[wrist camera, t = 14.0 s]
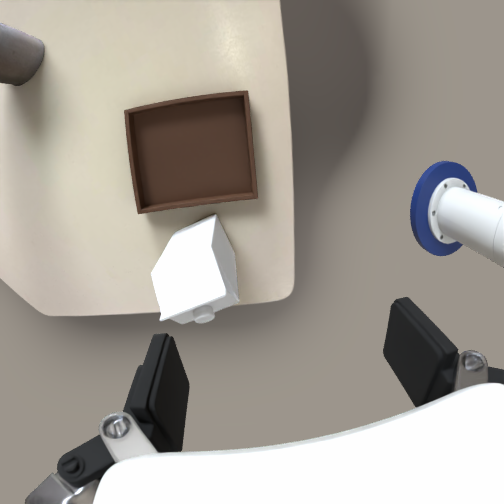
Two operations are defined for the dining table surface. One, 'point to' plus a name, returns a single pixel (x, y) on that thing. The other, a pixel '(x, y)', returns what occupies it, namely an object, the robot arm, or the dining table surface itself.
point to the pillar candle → (18, 55)
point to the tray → (191, 151)
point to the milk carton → (196, 273)
